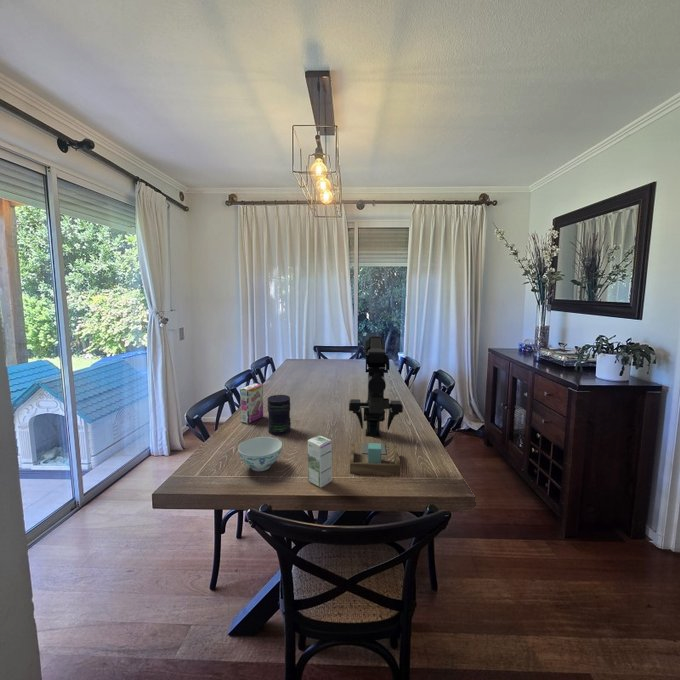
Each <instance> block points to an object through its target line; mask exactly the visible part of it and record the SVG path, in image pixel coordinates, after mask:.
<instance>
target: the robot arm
mask: <svg viewBox="0 0 680 680" xmlns="http://www.w3.org/2000/svg"><path fill="white" fill-rule="evenodd" d="M364 354H365V373H367V400H366V401H365V402H361V399H357V398H356V399H354V398H353V399H352V398H351V399H349V403H348V411H349V412H352V413H353V414H355V415H356V417H357V418H358V422H359V425H360V428H361V430H363V428H364V422H366V428H365V436H366V437H369V436H370V437H381V436H382V431H381V422H382V423H384V421H385V420H386V419H385V417H386V411H385V410H388V416H387V425H386V427H387V428H386V429H387V430H388V431H389V429H390V428H391V424H392V422H393V421H394V418H395V417H396V416H397V415H398V416H399V414H400V413H401V414H402V413H403V412H404V411H403V409H404V406H403V403H402V401H401V400H394V399H393V400H390V398H385V397H384V396H385V390H386V387H387V384H386V379H385V374H388V373H389V371H390V366H391V365H390V357H389V355H388V354H386V341H385V340H383V337H382V336H380V335H371V336H369V338H368V339H367V340H365V342H364ZM362 409H363V410H362ZM362 411H363V412H362Z"/></svg>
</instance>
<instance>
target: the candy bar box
mask: <svg viewBox="0 0 680 680" xmlns="http://www.w3.org/2000/svg"><path fill="white" fill-rule="evenodd" d="M239 397H240V398H239V401H240V408H239V409H240V422H241V423H243V424H246V425H249V424H252V423H253V422H255V421H257V420H259V419H261V418H263V417H264V384H263V383H257V382H256V383H252V384H250V385H249V384H248V385H247V386H243V387H241V388H239Z"/></svg>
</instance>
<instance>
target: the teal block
mask: <svg viewBox="0 0 680 680" xmlns="http://www.w3.org/2000/svg"><path fill="white" fill-rule="evenodd" d="M367 443H368V454H367V463H382V455H381V444H382V443H381V444H379V443H380V442H379V443H377V442H375V443H373V442H372V443H371V442H367Z"/></svg>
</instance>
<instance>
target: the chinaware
mask: <svg viewBox="0 0 680 680" xmlns="http://www.w3.org/2000/svg"><path fill="white" fill-rule="evenodd" d="M282 447H283V443H282V441H281V440H279V439H278V438H276V437H270V436H258V437H253V438H249V439H246V440H244V441H242V442H241V443H240V444H239V445H238V447H237V451H238V454H239V458H240V459H241V460H242V462H243V463H244V464H245V465H246V466H248V467H249V468H251V470H253V471H255V472H263V471H266V470H269V469H270V468H271V466H272V465H273V464H274V463H275V462H276V461H277V459H278V458H279V457H280V455H281V451H282V449H283V448H282Z"/></svg>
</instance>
